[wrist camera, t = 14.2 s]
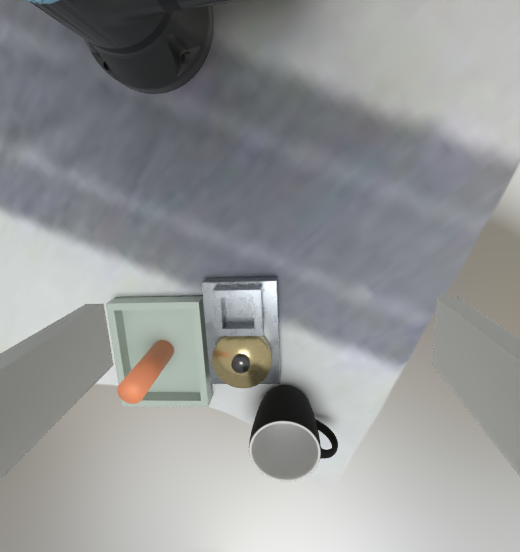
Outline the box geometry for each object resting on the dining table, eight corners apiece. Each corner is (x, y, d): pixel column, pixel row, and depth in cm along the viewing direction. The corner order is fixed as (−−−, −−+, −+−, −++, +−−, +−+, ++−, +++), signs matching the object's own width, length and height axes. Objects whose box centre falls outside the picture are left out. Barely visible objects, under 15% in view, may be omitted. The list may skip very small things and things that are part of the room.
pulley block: (280, 374, 53) (279, 395, 48) (214, 374, 54) (205, 395, 49) (277, 276, 49) (275, 287, 44) (205, 278, 50) (195, 289, 45)
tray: (116, 297, 52) (105, 303, 49) (203, 295, 51) (198, 301, 48) (130, 394, 56) (122, 406, 53) (212, 395, 55) (208, 407, 52)
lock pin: (151, 339, 52) (115, 379, 42) (172, 339, 52) (142, 379, 41) (154, 359, 53) (119, 403, 43) (175, 359, 53) (145, 404, 42)
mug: (248, 418, 55) (239, 468, 46) (266, 369, 53) (261, 411, 43) (322, 443, 55) (329, 499, 46) (343, 395, 53) (355, 443, 43)
